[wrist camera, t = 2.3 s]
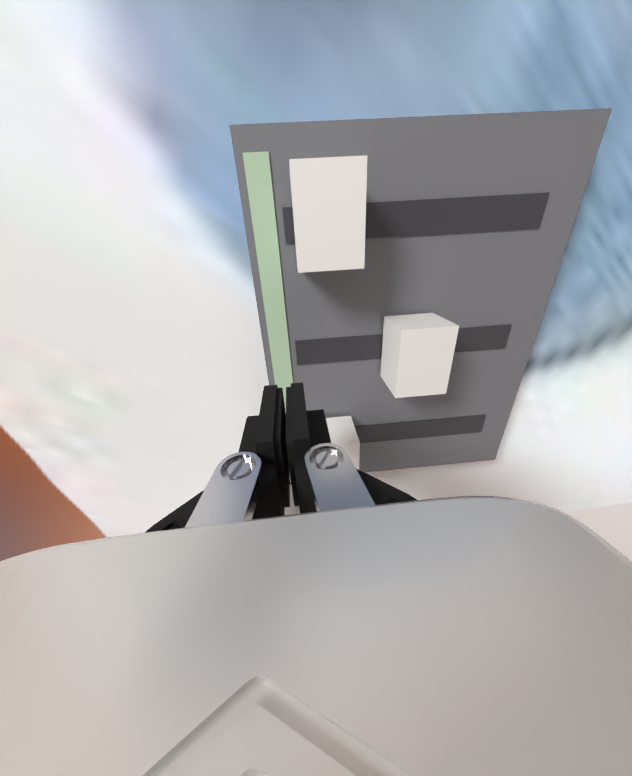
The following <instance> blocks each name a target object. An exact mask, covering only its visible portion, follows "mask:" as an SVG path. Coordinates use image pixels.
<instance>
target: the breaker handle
mask: <svg viewBox="0 0 632 776" xmlns="http://www.w3.org/2000/svg"><path fill="white" fill-rule="evenodd" d="M458 329H459V325H457V324H455V323H453V322H451V321H449V320H447V319H445V318H443V317H440V316H438V315H436V314H434V313H422V314H408V315H395V316H384V327H383V343H382V359H381V375H380V376H381V378H382V379H383V381H384V382H385V384H386V385H387V387H388V388H389V390H390V391H391V393H392V394H393V396H394V397H395V398H403V397H415V396H426V395H438V394H446V391H447V386H448V381H449V376H450V371H451V366H452V360H453V355H454V350H455V345H456V340H457V335H458Z"/></svg>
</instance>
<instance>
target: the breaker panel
mask: <svg viewBox="0 0 632 776" xmlns="http://www.w3.org/2000/svg"><path fill="white" fill-rule="evenodd" d="M611 110H612V108H608V109H585V110H563V111H540V112H517V113H494V114H471V115H448V116H425V117H402V118H379V119H356V120H334V121H311V122H288V123H265V124H242V125H230V130H231V137H232V143H233V150H234V156H235V163H236V170H237V176H238V183H239V189H240V196H241V202H242V209H243V216H244V222H245V229H246V235H247V242H248V248H249V255H250V261H251V268H252V275H253V281H254V288H255V294H256V301H257V307H258V314H259V321H260V327H261V334H262V340H263V347H264V353H265V360H266V366H267V373H268V380H269V385H277V386H278V388H282V389H283V396H284V404H285V412H286V387H291V383H301V382H303V387H304V395H305V403H306V411H310V410H320V409H324V413H325V417H326V422H327V426H328V430H329V435H330V439H331V443H332V444H336V445H339V446H341V447H342V448H344V449H345V450H346V452H347V453H348V455H349V457H350V458H351V460H352V462H353V464H354V466H355V468H356V469H358V470H360V471H362V472H371V471H382V470H392V469H402V468H412V467H423V466H433V465H443V464H453V463H463V462H474V461H484V460H494V459H495V457H496V454H497V451H498V448H499V445H500V442H501V439H502V436H503V433H504V430H505V427H506V424H507V421H508V418H509V415H510V412H511V409H512V406H513V403H514V400H515V397H516V394H517V391H518V388H519V385H520V382H521V379H522V376H523V373H524V370H525V367H526V364H527V361H528V358H529V355H530V353H531V350H532V347H533V344H534V341H535V338H536V335H537V332H538V329H539V326H540V323H541V320H542V317H543V314H544V311H545V308H546V305H547V302H548V299H549V296H550V293H551V290H552V287H553V284H554V281H555V278H556V275H557V272H558V269H559V266H560V263H561V260H562V257H563V254H564V251H565V248H566V245H567V242H568V239H569V236H570V233H571V230H572V227H573V224H574V221H575V218H576V215H577V212H578V209H579V206H580V203H581V200H582V197H583V194H584V191H585V188H586V185H587V182H588V179H589V176H590V173H591V170H592V167H593V164H594V161H595V158H596V155H597V152H598V149H599V146H600V143H601V140H602V137H603V134H604V131H605V128H606V125H607V122H608V119H609V116H610V113H611ZM422 313H434V314H436V315H438V316H440V317H443V318H445V319H447V320H449V321H451V322H453V323H455V324H457V325H459V329H458V335H457V340H456V345H455V350H454V355H453V360H452V366H451V371H450V376H449V381H448V386H447V391H446V394H438V395H426V396H415V397H403V398H395V397H394V396H393V394H392V393H391V391H390V390H389V388H388V387H387V385H386V384H385V382H384V381H383V379H382V378H381V376H380V375H381V359H382V343H383V327H384V316H395V315H408V314H422ZM290 479H291V477H290Z"/></svg>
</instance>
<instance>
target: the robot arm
mask: <svg viewBox="0 0 632 776" xmlns="http://www.w3.org/2000/svg"><path fill="white" fill-rule="evenodd" d="M290 477H291V485H292V492H293V500H294V506H299V509H300V514H294V515H285V508H286V507H290ZM0 776H632V562H631V561H630V560H629V559H628V558H626V557H625V556H624V555H623V554H622V553H620V552H619V551H618V550H617V549H615V548H614V547H613V546H612V545H610V544H609V543H608V542H607V541H606V540H604V539H603V538H602V537H601V536H599V535H598V534H596V533H595V532H594V531H593V530H591V529H590V528H588V527H587V526H585V525H584V524H583V523H581V522H580V521H578V520H576V519H575V518H573V517H571V516H569V515H568V514H565V513H563V512H561V511H559V510H557V509H554V508H551V507H548V506H545V505H541V504H537V503H534V502H529V501H524V500H518V499H513V498H505V497H494V496H463V497H450V498H437V499H425V500H416V499H415V498H413V497H412V496H410V495H408V494H406V493H404V492H402V491H400V490H398V489H396V488H394V487H392V486H390V485H388V484H386V483H384V482H382V481H380V480H378V479H376V478H374V477H372V476H370V475H368V474H366V473H364V472H362V471H360V470H358V469H356V468H355V466H354V464H353V462H352V460H351V458H350V457H349V455H348V453H347V452H346V450H345V449H344V448H342V447H341V446H339V445H336V444H332V443H331V439H330V435H329V430H328V426H327V422H326V417H325V413H324V409H320V410H310V411H306V403H305V395H304V387H303V382H301V383H291V387H286V412H285V404H284V396H283V389H282V388H278V386H277V385H268V386H264V391H263V397H262V402H261V408H260V414H259V415H258V416H248V417H247V420H246V424H245V428H244V432H243V436H242V440H241V445H240V449H239V452H238V453H235V454H232V455H230V456H228V457H226V458H225V459H223V460H222V461H221V462H220V463H219V464H218V466H217V467H216V469H215V471H214V473H213V475H212V477H211V479H210V481H209V482H208V484H207V486H206V488H205V490H203V491H202V492H201V493H199V494H198V495H196V496H195V497H193V498H192V499H190V500H189V501H188V502H186V503H185V504H183V505H182V506H180V507H179V508H178V509H176V510H175V511H173V512H172V513H170V514H169V515H167V516H166V517H165V518H163V519H162V520H160V521H159V522H157V523H156V524H155V525H153V526H152V527H151V528H150V529H148V530H147V531H146V532H145V533H139V534H131V535H124V536H116V537H108V538H101V539H96V540H89V541H82V542H76V543H70V544H64V545H58V546H53V547H49V548H44V549H40V550H36V551H32V552H28V553H25V554H22V555H19V556H15V557H12V558H9V559H6V560H3V561H0Z"/></svg>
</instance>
